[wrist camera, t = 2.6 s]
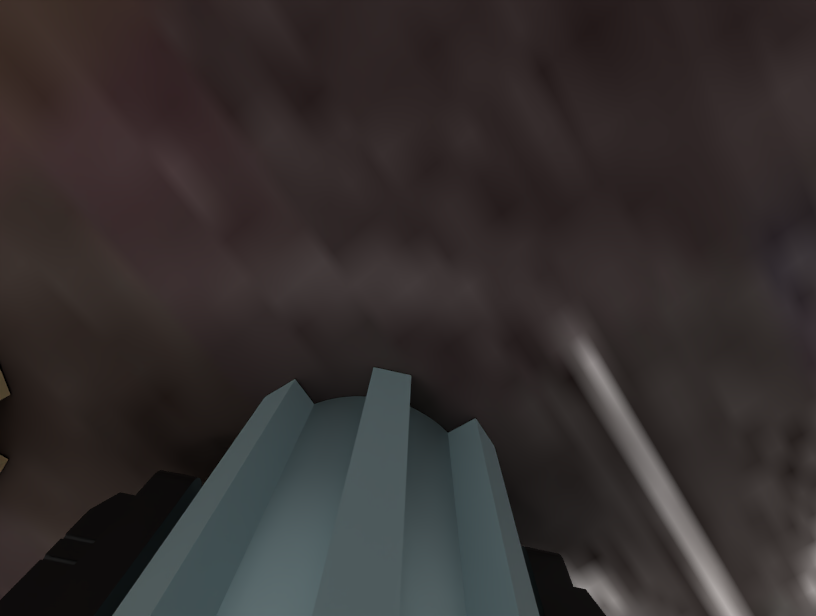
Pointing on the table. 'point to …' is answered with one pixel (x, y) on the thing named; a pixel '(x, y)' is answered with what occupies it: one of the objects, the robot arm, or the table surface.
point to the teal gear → (344, 518)
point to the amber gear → (1, 392)
